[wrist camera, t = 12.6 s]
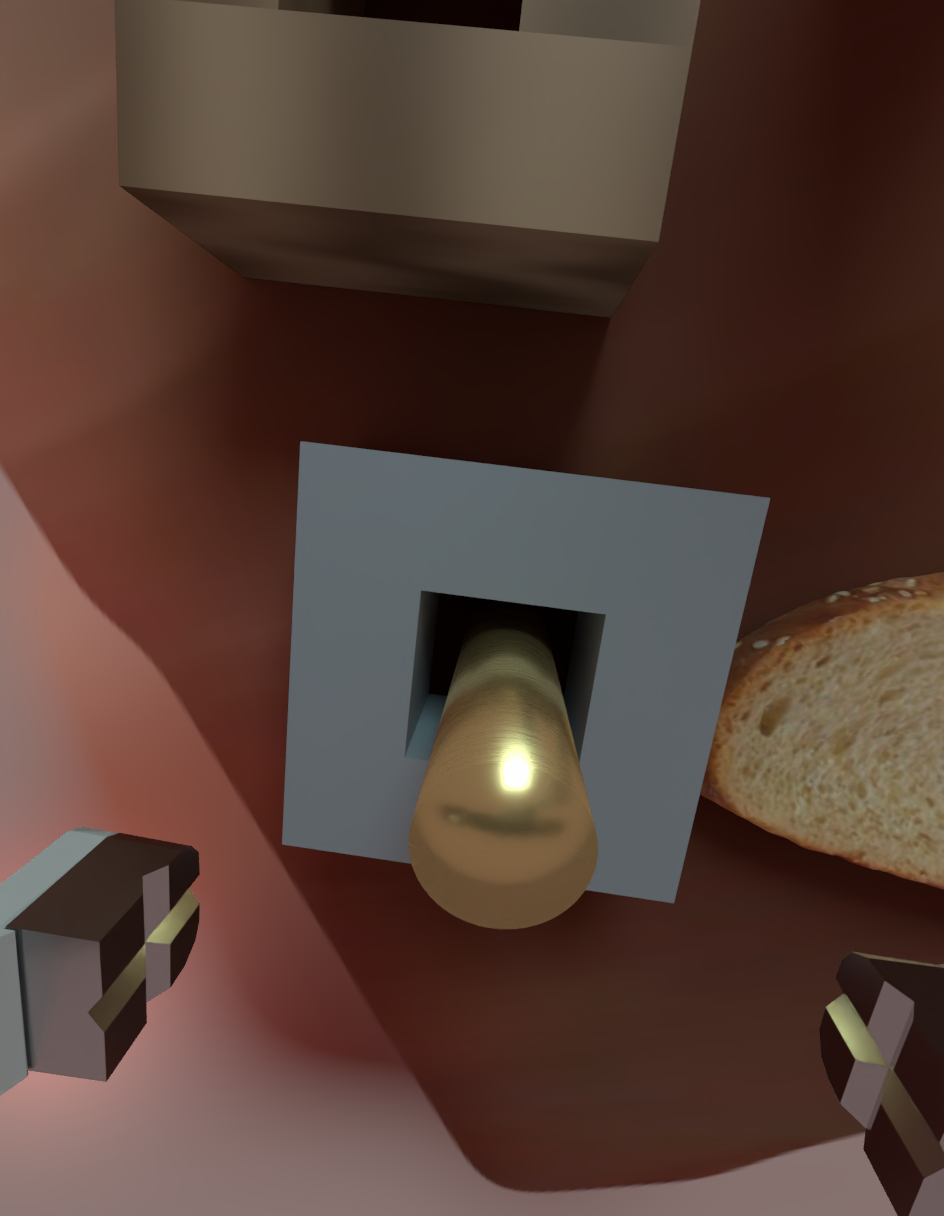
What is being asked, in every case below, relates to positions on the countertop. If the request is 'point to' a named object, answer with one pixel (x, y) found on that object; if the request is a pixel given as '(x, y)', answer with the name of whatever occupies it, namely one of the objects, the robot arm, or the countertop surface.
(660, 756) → the slate socket block
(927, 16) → the countertop surface
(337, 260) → the tan wooden mount
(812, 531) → the countertop surface
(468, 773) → the brass pin
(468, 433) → the countertop surface
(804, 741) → the slice of bread
